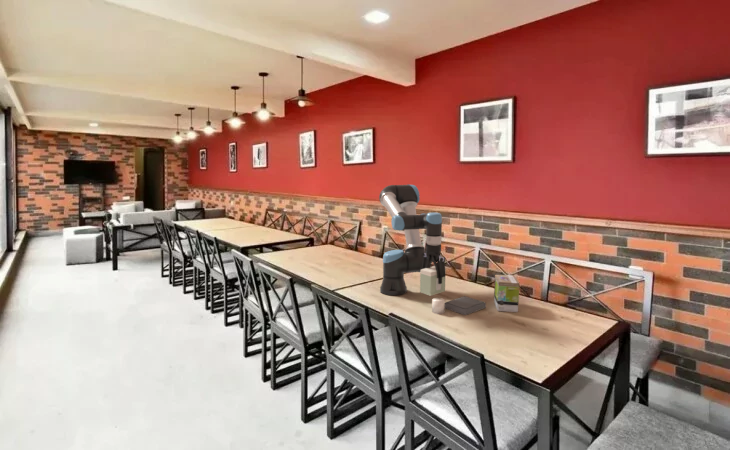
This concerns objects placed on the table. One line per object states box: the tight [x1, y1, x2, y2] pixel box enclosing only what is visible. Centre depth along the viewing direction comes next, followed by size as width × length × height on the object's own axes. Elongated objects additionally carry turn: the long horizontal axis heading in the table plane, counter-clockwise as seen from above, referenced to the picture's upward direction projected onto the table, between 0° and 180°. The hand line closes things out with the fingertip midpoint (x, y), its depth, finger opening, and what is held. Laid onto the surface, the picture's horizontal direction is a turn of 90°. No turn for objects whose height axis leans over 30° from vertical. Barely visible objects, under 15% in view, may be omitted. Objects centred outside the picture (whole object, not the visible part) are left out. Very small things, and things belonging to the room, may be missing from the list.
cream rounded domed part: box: [431, 297, 446, 315], centre depth 193 cm, size 6×6×6 cm
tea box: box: [493, 274, 520, 313], centre depth 198 cm, size 15×10×15 cm
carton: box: [419, 265, 447, 297], centre depth 201 cm, size 7×11×12 cm, turn 128°
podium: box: [445, 295, 486, 316], centre depth 198 cm, size 13×16×3 cm
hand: (432, 287), depth 202 cm, fingers closed on carton, 7 cm apart
